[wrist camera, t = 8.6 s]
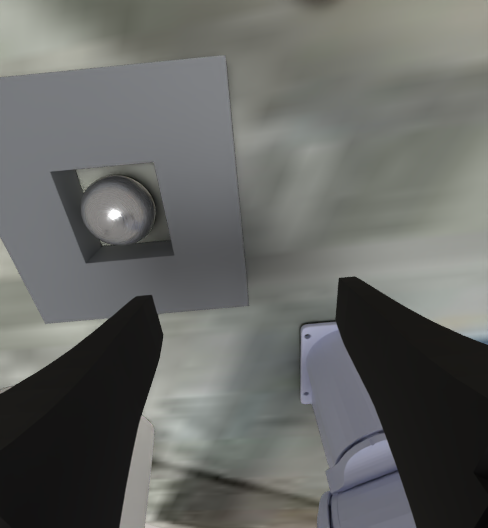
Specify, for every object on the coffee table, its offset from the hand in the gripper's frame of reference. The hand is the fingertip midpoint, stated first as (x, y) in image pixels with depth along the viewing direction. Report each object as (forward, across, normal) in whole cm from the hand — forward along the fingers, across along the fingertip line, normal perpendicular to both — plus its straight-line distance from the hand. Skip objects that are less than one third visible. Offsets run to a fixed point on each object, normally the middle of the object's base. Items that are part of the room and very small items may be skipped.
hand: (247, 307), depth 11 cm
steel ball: (+7, +7, -2) cm, 10 cm away
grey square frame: (+9, +7, -2) cm, 12 cm away
